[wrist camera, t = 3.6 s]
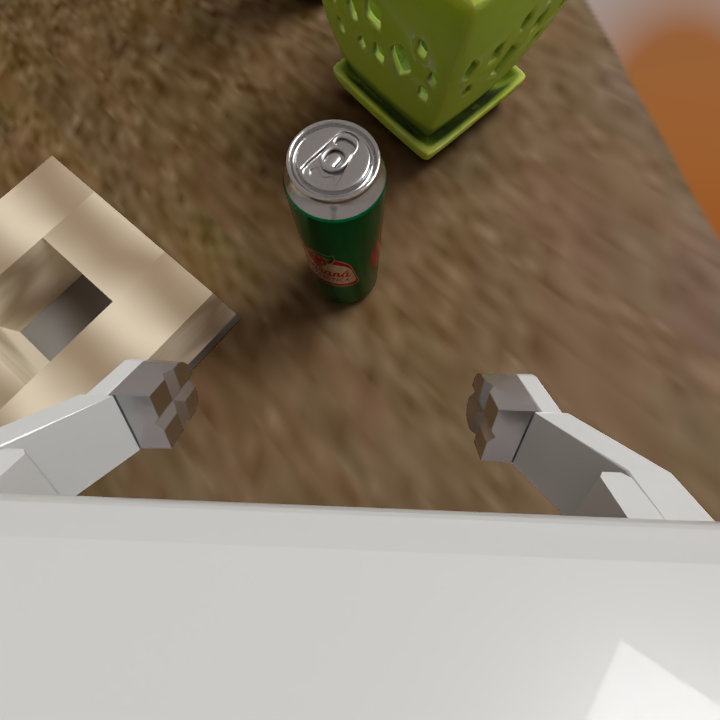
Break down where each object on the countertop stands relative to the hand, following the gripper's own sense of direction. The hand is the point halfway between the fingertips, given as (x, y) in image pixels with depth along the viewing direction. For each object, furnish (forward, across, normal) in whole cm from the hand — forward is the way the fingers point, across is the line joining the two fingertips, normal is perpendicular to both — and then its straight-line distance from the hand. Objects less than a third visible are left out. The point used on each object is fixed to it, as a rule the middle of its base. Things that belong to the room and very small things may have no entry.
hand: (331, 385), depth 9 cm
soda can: (+18, +1, +3) cm, 19 cm away
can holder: (+15, +20, +7) cm, 26 cm away
